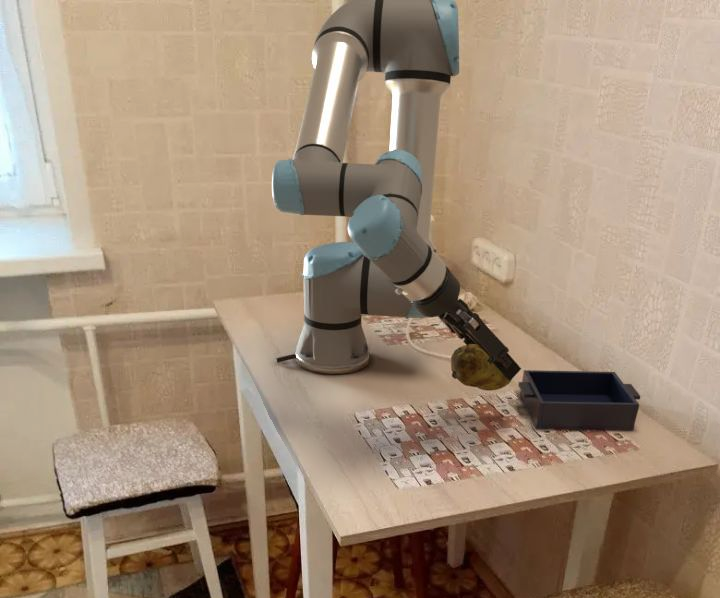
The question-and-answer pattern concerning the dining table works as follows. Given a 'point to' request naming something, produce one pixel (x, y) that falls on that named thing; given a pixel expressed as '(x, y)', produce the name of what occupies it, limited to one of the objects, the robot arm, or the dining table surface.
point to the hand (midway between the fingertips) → (501, 365)
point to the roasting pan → (579, 400)
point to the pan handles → (529, 393)
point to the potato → (476, 369)
